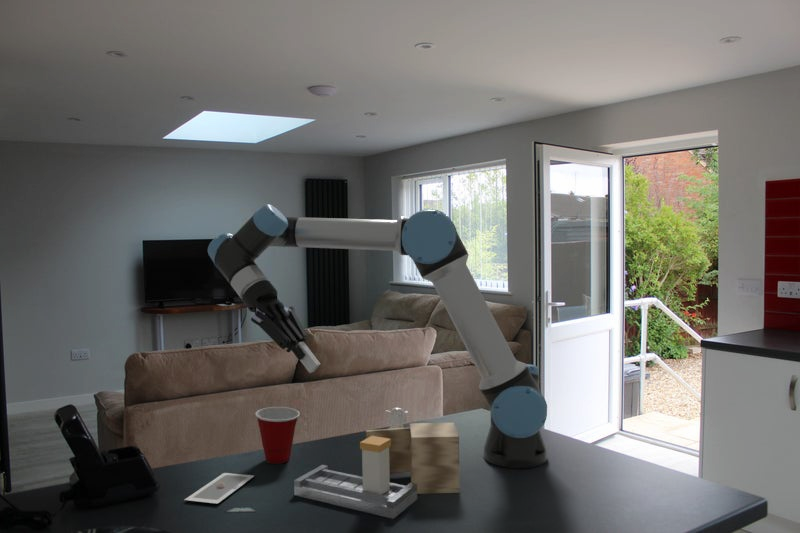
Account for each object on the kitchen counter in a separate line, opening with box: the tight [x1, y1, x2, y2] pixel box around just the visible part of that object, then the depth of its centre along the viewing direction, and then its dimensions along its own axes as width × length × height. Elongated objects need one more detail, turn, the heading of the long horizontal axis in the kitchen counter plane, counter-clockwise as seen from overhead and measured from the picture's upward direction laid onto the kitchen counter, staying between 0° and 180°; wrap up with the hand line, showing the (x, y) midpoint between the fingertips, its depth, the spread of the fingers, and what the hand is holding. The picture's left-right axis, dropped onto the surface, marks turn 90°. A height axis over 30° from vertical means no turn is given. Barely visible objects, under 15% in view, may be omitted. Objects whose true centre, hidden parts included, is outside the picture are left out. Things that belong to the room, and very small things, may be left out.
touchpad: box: [184, 472, 255, 504], centre depth 129 cm, size 8×15×2 cm, turn 165°
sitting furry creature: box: [384, 406, 408, 429], centre depth 149 cm, size 10×9×12 cm
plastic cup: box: [254, 406, 301, 465], centre depth 147 cm, size 11×11×12 cm
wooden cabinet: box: [365, 422, 461, 495], centre depth 131 cm, size 20×10×12 cm, turn 91°
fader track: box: [293, 464, 418, 520], centre depth 125 cm, size 24×10×3 cm, turn 61°
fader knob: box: [359, 436, 391, 495], centre depth 122 cm, size 5×5×10 cm
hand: (315, 368), depth 130 cm, fingers closed
